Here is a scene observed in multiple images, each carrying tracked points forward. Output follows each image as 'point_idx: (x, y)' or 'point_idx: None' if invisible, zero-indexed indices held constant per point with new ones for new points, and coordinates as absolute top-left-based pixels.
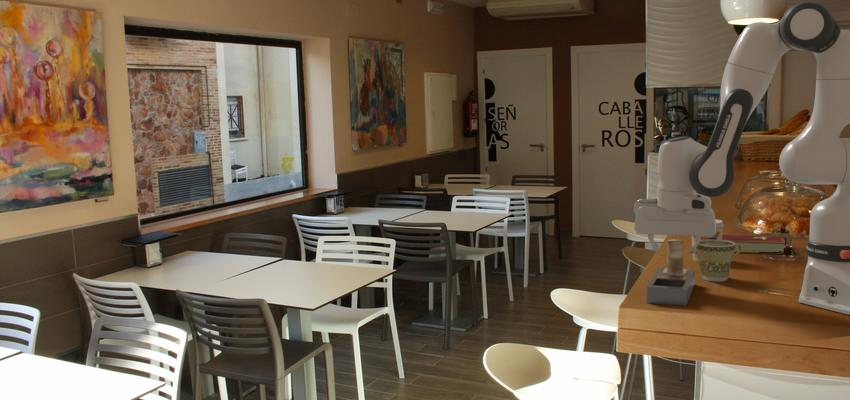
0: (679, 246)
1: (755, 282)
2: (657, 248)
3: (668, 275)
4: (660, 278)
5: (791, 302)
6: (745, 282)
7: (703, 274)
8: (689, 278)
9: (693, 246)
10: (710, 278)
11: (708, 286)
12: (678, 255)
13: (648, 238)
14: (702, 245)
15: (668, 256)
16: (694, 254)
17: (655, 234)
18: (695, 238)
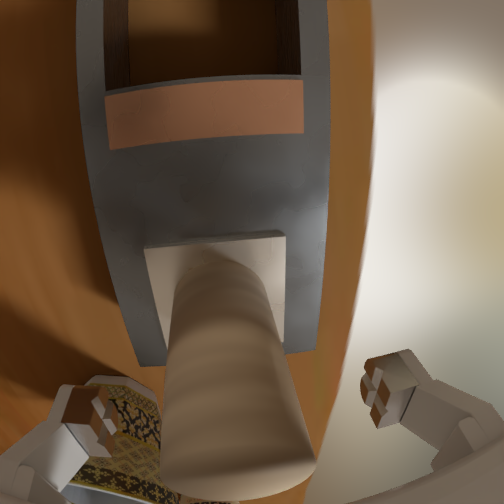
0: (179, 417)
1: (17, 386)
2: (381, 368)
3: (240, 195)
4: (276, 79)
5: None
6: (33, 382)
7: (144, 399)
8: (97, 167)
9: (69, 430)
10: (116, 382)
11: (93, 311)
12: (188, 347)
13: (487, 403)
14: (128, 494)
15: (273, 338)
16: (232, 502)
17: (469, 454)
18: (28, 484)
